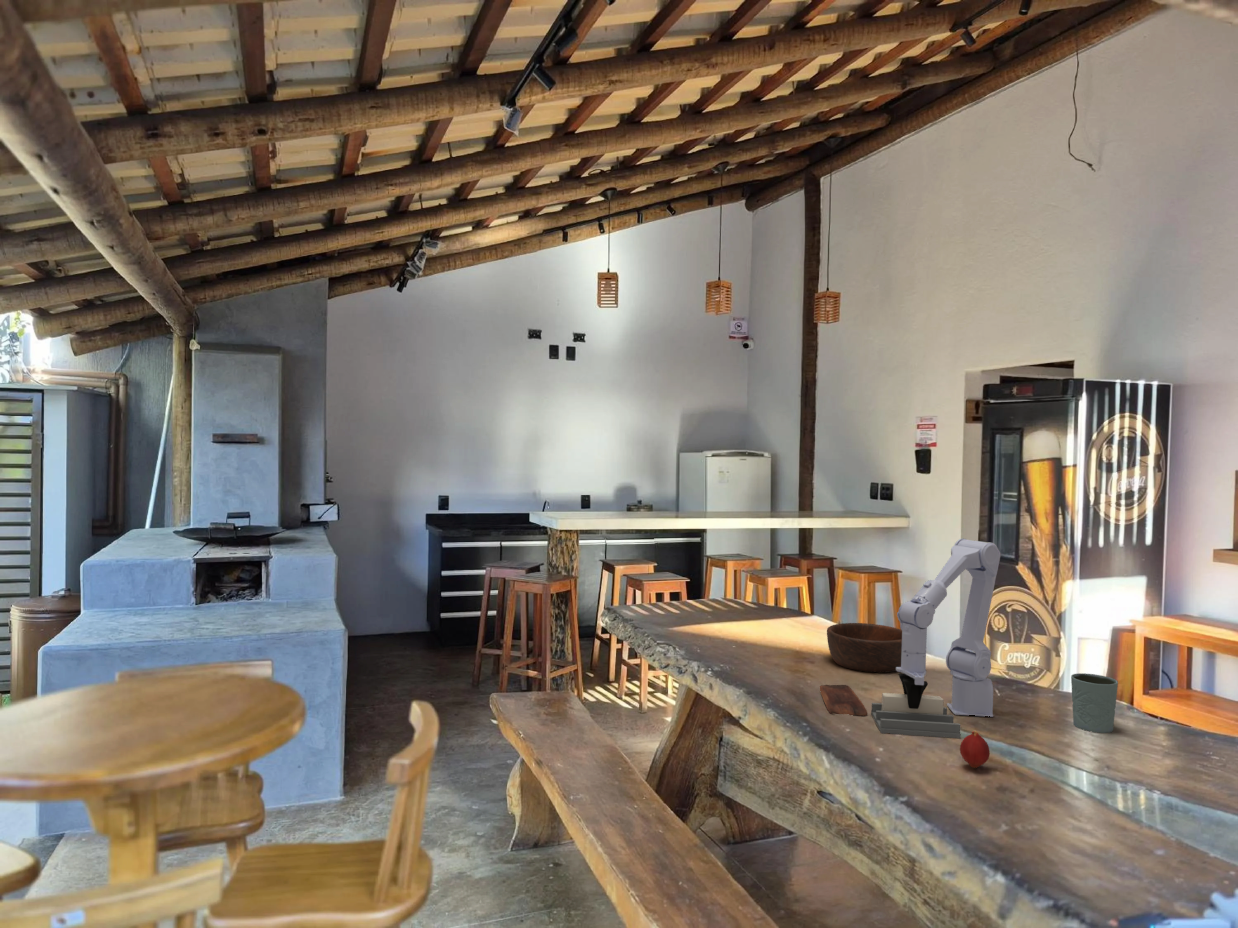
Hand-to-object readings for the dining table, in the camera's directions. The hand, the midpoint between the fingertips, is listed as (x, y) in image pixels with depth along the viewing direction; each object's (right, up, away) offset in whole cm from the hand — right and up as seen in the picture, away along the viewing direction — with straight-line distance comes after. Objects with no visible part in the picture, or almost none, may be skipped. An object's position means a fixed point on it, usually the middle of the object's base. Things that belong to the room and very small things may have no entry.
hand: (911, 705), depth 206 cm
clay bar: (0, -3, 0) cm, 3 cm away
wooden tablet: (-13, -4, +17) cm, 22 cm away
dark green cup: (+44, -5, -1) cm, 44 cm away
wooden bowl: (+5, -3, +53) cm, 53 cm away
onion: (+3, -5, -29) cm, 29 cm away
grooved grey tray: (0, -4, -3) cm, 5 cm away
